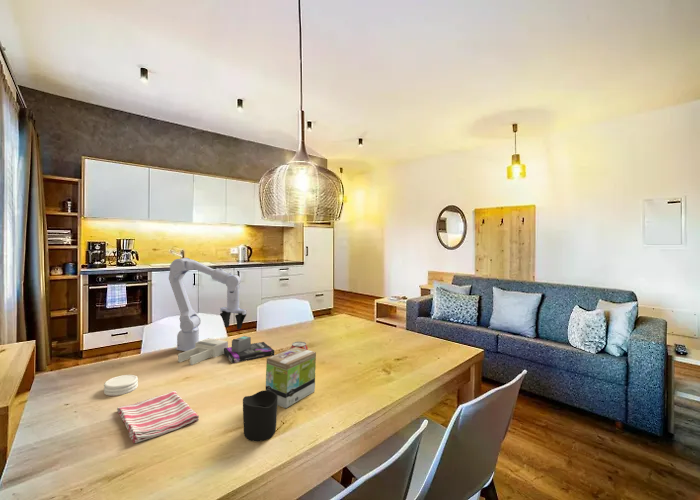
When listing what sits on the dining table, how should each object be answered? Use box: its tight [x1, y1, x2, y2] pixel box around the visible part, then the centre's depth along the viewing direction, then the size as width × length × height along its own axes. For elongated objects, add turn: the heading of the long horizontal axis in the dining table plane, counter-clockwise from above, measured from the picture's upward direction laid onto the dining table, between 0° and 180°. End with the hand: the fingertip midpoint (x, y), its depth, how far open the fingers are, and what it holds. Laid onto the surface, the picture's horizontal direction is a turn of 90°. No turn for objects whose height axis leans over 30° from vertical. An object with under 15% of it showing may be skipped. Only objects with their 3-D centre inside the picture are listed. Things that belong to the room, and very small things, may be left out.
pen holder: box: [242, 389, 278, 443], centre depth 93 cm, size 9×9×10 cm
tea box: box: [265, 347, 317, 409], centre depth 114 cm, size 15×10×15 cm, turn 148°
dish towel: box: [117, 390, 200, 444], centre depth 100 cm, size 17×23×4 cm
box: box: [223, 341, 275, 364], centre depth 154 cm, size 14×4×20 cm
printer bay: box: [177, 337, 229, 366], centre depth 150 cm, size 12×19×5 cm, turn 157°
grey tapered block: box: [231, 335, 252, 353], centre depth 153 cm, size 4×8×6 cm, turn 156°
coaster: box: [103, 374, 139, 397], centre depth 117 cm, size 10×10×4 cm
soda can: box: [289, 341, 309, 350], centre depth 134 cm, size 7×7×12 cm
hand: (233, 327), depth 161 cm, fingers open, 7 cm apart
